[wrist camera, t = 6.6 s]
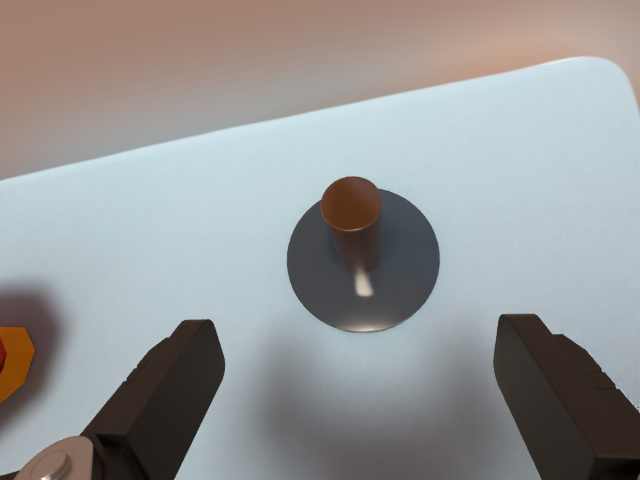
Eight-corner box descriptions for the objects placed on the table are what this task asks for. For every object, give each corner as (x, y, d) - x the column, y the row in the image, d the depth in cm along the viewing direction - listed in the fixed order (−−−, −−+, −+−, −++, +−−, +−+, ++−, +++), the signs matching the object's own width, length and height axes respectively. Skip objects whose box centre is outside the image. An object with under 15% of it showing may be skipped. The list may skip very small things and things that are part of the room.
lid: (469, 241, 20) (518, 176, 13) (375, 368, 18) (373, 373, 11) (348, 167, 23) (335, 83, 16) (260, 269, 21) (202, 225, 14)
